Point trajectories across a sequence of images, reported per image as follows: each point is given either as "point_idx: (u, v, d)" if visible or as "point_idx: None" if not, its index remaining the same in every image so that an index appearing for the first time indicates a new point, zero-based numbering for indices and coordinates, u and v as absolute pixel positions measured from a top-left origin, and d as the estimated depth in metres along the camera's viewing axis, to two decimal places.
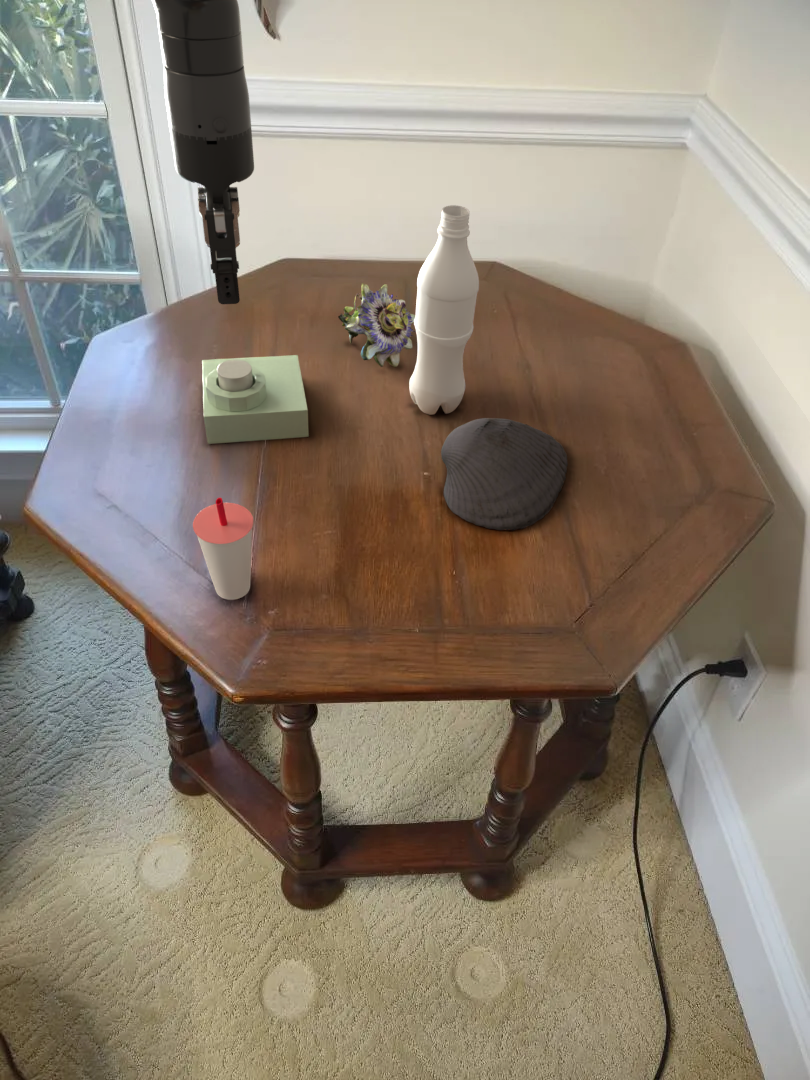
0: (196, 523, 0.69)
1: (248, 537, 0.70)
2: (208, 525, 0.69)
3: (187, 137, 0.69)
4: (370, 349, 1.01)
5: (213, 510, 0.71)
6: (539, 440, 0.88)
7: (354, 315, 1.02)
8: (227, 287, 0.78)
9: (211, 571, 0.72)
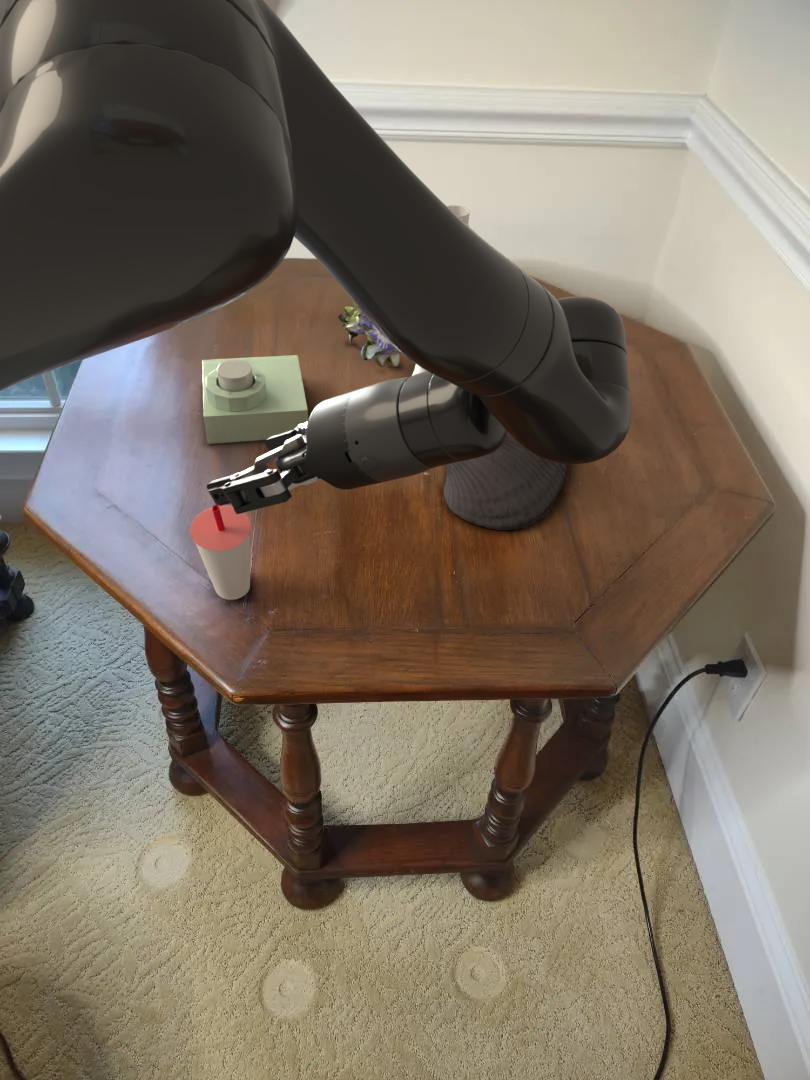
0: (193, 528, 0.69)
1: (246, 542, 0.69)
2: (205, 531, 0.69)
3: (342, 428, 0.57)
4: (370, 349, 1.01)
5: (210, 514, 0.70)
6: None
7: (354, 315, 1.02)
8: (223, 494, 0.65)
9: (210, 574, 0.72)
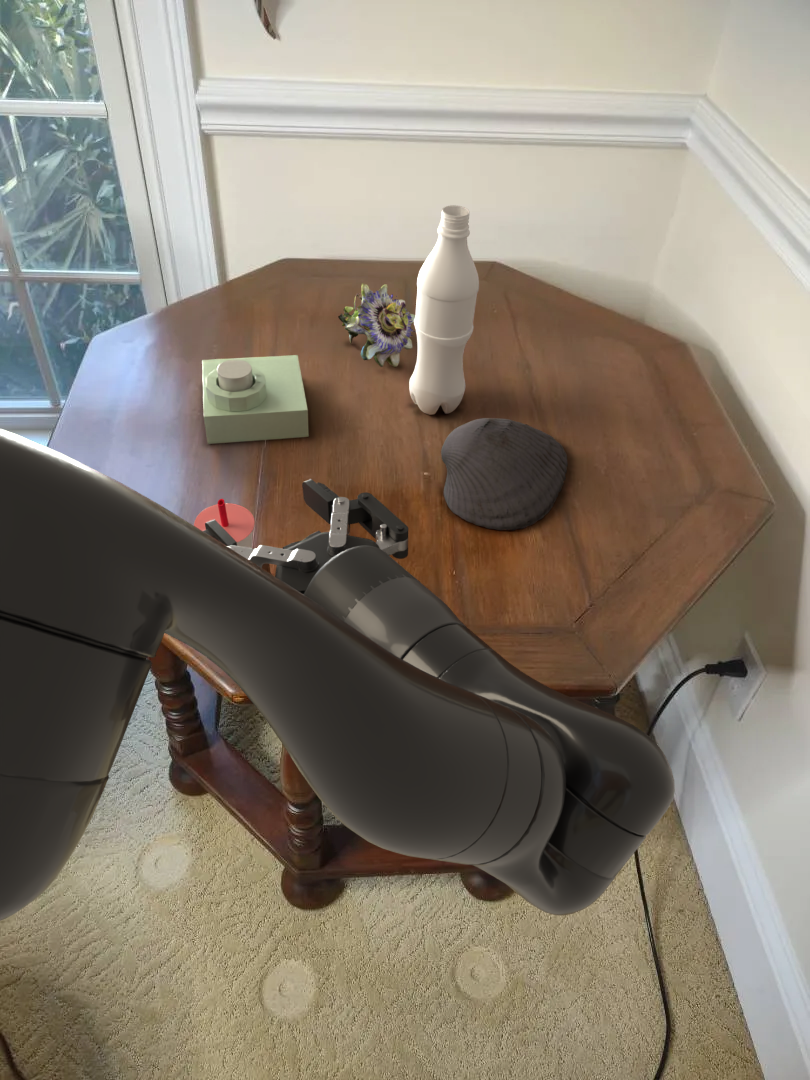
0: (197, 524, 0.69)
1: (249, 538, 0.70)
2: None
3: None
4: (370, 349, 1.01)
5: (214, 511, 0.71)
6: (539, 440, 0.88)
7: (354, 315, 1.02)
8: None
9: None
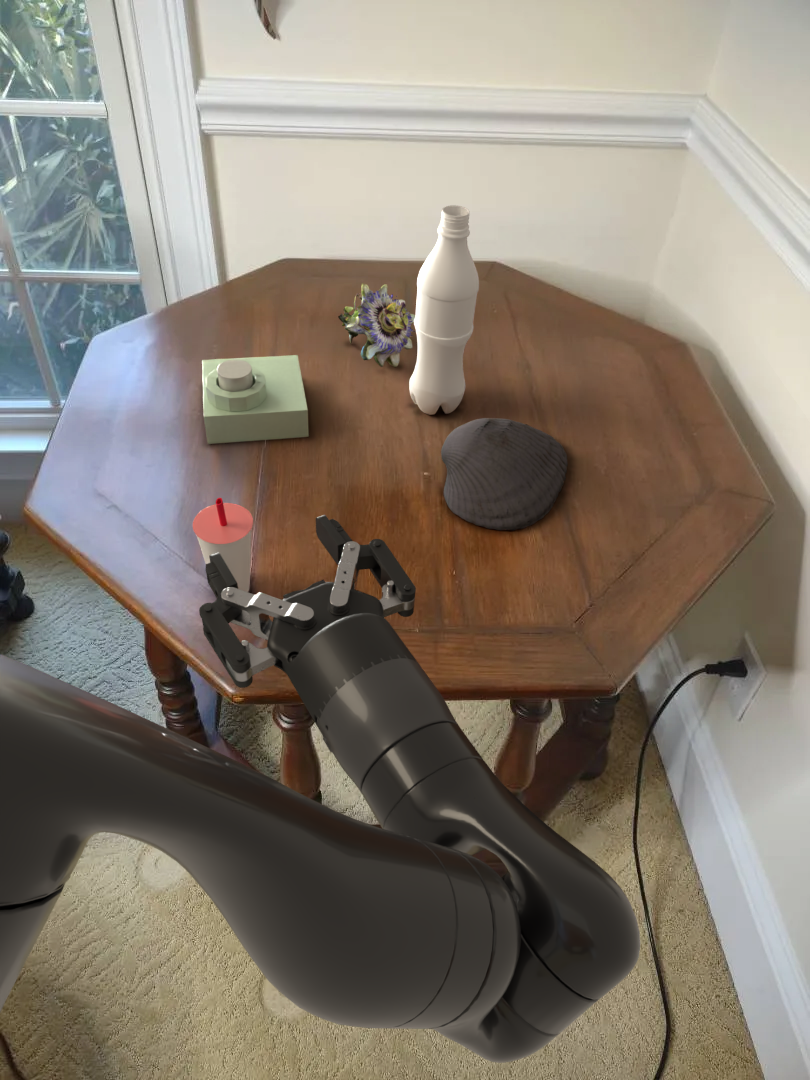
0: (196, 523, 0.69)
1: (248, 537, 0.70)
2: (208, 526, 0.69)
3: (326, 699, 0.46)
4: (370, 349, 1.01)
5: (212, 510, 0.71)
6: (539, 440, 0.88)
7: (354, 315, 1.02)
8: None
9: None
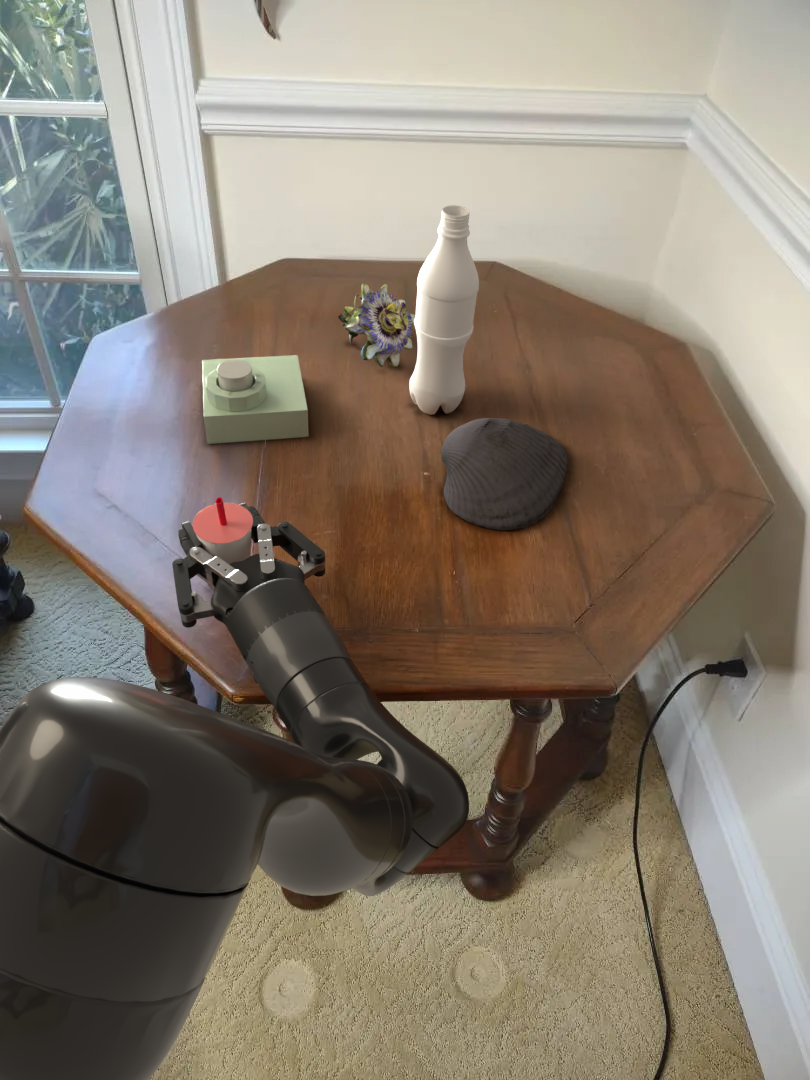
0: (196, 523, 0.69)
1: (248, 537, 0.70)
2: (208, 525, 0.69)
3: (251, 641, 0.60)
4: (370, 349, 1.01)
5: (212, 510, 0.71)
6: (539, 440, 0.88)
7: (354, 315, 1.02)
8: None
9: None
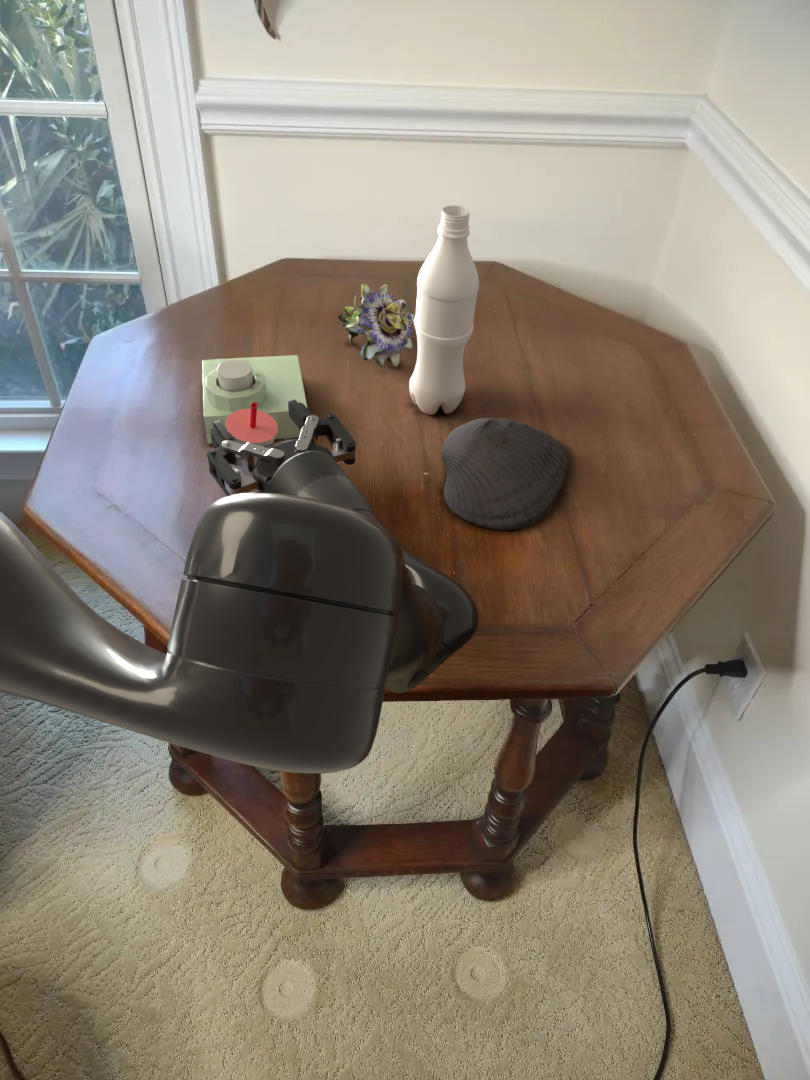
0: (228, 423, 0.79)
1: (272, 441, 0.80)
2: (239, 426, 0.79)
3: None
4: (370, 349, 1.01)
5: (242, 414, 0.80)
6: (539, 440, 0.88)
7: (354, 315, 1.02)
8: None
9: (233, 468, 0.82)
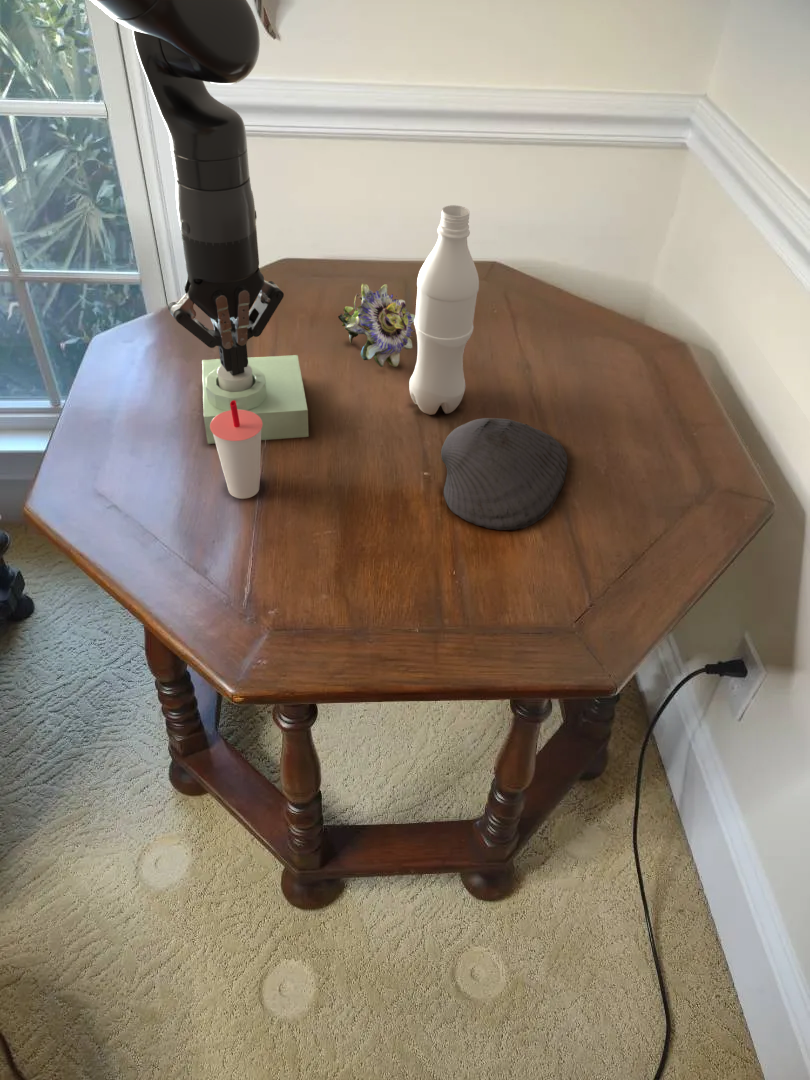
0: (213, 425, 0.80)
1: (258, 437, 0.80)
2: (223, 427, 0.79)
3: None
4: (370, 349, 1.01)
5: (227, 415, 0.81)
6: (539, 440, 0.88)
7: (354, 315, 1.02)
8: None
9: (225, 470, 0.82)
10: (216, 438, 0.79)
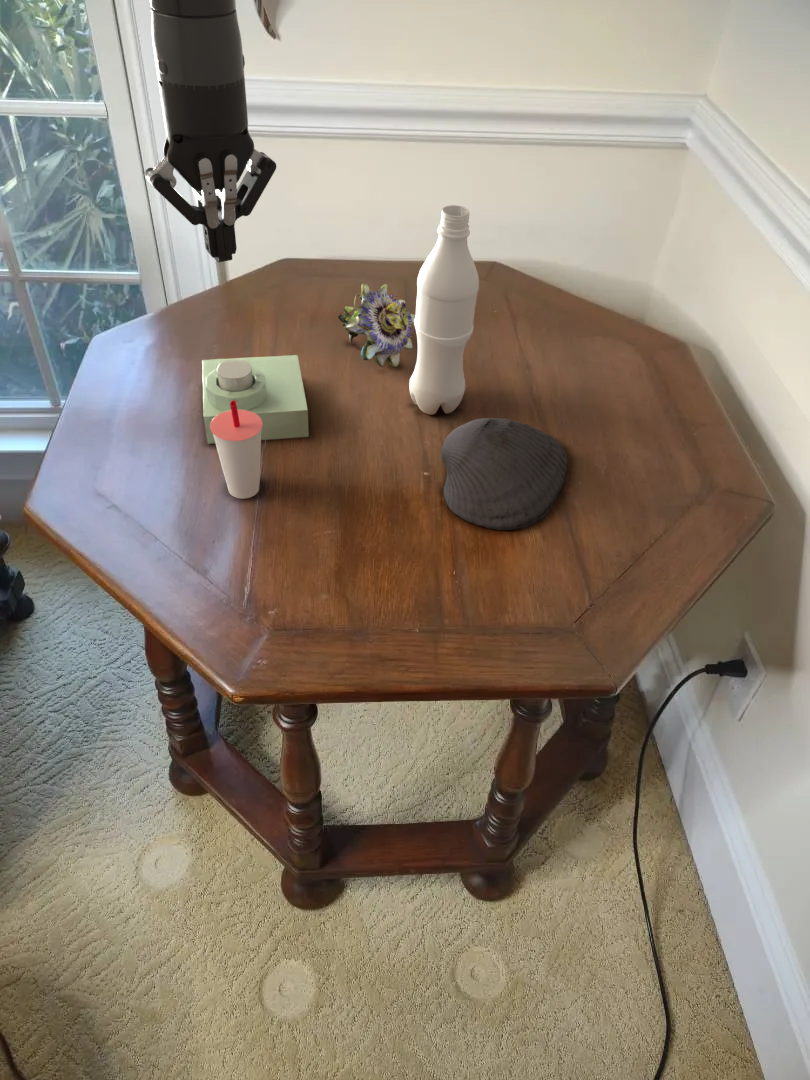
0: (213, 425, 0.80)
1: (258, 437, 0.80)
2: (223, 427, 0.79)
3: None
4: (370, 349, 1.01)
5: (227, 415, 0.81)
6: (539, 440, 0.88)
7: (354, 315, 1.02)
8: None
9: (225, 470, 0.82)
10: (216, 438, 0.79)
